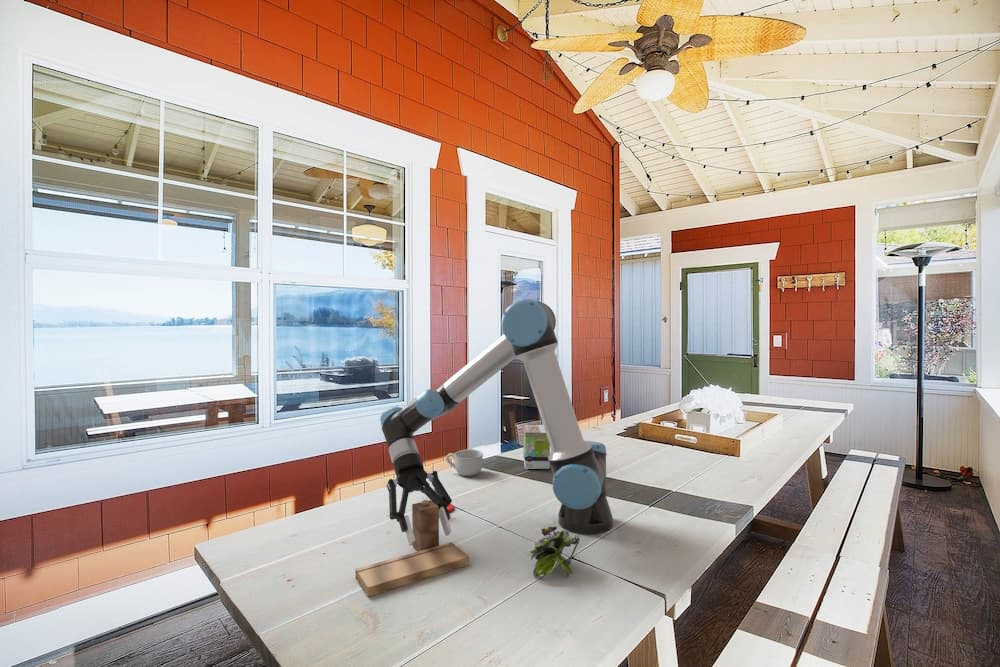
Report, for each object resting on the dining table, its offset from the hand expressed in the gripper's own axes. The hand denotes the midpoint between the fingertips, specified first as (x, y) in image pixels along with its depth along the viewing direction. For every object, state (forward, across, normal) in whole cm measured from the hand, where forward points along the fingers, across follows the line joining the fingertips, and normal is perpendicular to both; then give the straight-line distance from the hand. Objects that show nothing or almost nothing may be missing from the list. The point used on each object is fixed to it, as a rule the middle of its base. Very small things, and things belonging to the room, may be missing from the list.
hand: (431, 538), depth 119 cm
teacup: (-34, -37, -39) cm, 64 cm away
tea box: (-30, -67, -35) cm, 81 cm away
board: (+7, +7, +1) cm, 10 cm away
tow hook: (-14, -14, -20) cm, 28 cm away
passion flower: (+19, -21, +14) cm, 31 cm away
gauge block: (0, 0, -5) cm, 5 cm away
